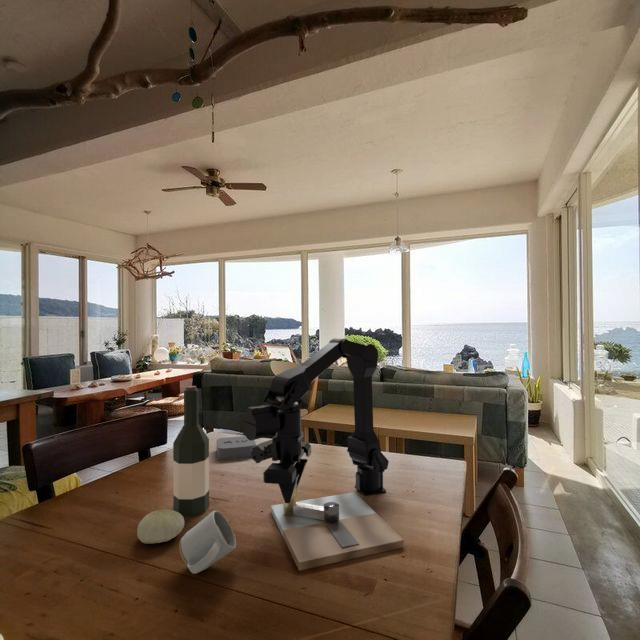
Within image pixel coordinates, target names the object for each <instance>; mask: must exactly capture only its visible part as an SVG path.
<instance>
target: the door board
mask: <svg viewBox="0 0 640 640" xmlns="http://www.w3.org/2000/svg"><path fill="white" fill-rule="evenodd" d="M297 502H300V503H306V504H312V505H318V506H324V504H325V503H327V502H336V503H338V504H339V521H337V522H335V523H328V522H326V521H324V520H321V519H315V518H310V517H304V516H298V515H286V514H284V513H283V503H281V504H280V503H279V504H273V505H270V512H271V514H272V515H271V516H272V517H273V519H274V521H275V523H276V525H277V528H278V530H279V531H280V534H281V535H282V538H283V540H284V542H285V545H286V546H287V548H288V550H289V552H290V555H291V557H292V559H293V561H294V563H295V565H296V567H297V569H298V571H304V570H309V569H313V568H317V567H322V566H326V565H331V564H334V563H339V562H345V561H348V560H354V559H357V558H362V557H366V556H371V555H375V554H380V553H385V552H388V551H393V550H394V551H395V550H398V549H402V548H404V546H405V544H404V543H405V541H404V539H403V537H401V535H400V534H398V532H396V531H395V530H394V529H393V528H392V527H391V526H390V525H389V524H388V523H387V522H386V521H385V520H384V519H383V518H382V517H381V516H379V514H378V513H377V512H376V511H374V510H373V508H372V507H370V506H369V505H368V503H366V502H365V501H364V500H363V499H362V498H361V497H360V496H359V495H358V494H357V493H356V492H355V491H354V492H353V491H352V492H347V493H341V494H334V495H330V496H322V497H317V498H311V499H304V500H297Z"/></svg>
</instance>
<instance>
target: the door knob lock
mask: <svg viewBox="0 0 640 640" xmlns="http://www.w3.org/2000/svg"><path fill="white" fill-rule="evenodd" d="M282 499H283V498H282ZM297 501H298V487H297V482H296V486H295V489H294V492H293V495H292V498H291V501H290V503H285V502H284V499H283V501H282V504H283V513H284V514H286V515H298V516H304V517H310V518H315V519H321V520H324V521H326V522H328V523H335V522H337V521H339V504H338V503H336V502H327V503H325V504H324V506H318V505H312V504H306V503H300V502H297Z"/></svg>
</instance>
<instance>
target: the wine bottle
mask: <svg viewBox="0 0 640 640" xmlns="http://www.w3.org/2000/svg"><path fill="white" fill-rule="evenodd" d="M199 403H200V402H199V389H198V388H197V386H196V385H190V386H189V385H188V386H185V389H184V390H183V426H182V427H181V429H180V430H179V432H178V434H177V436H176V437H175V439H174V441H173V442H172V444H173V445H172V446H173V447H172V451H173V452H172V453H173V454H172V457H173V458H172V459H173V460H172V463H173V464H172V469H173V470H172V473H173V474H172V476H173V480H172V481H173V488H172V489H173V490H172V494H173V495H172V496H173V503H172V504H173V508H172V510H174V511H176V512H178V513H180V514H181V515H182V516H183V518H188V517H189V518H192V517H193V518H194V517H195V516H198V515H202V514H203V513H206V512H207V510H208V509H209V507H210V438H209V437H208V436H207V434H206V433H205V431H204V429H203V428H202V426H201V425H200V423H199V413H200V412H199V407H200V406H199Z"/></svg>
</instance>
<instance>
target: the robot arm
mask: <svg viewBox="0 0 640 640" xmlns="http://www.w3.org/2000/svg"><path fill="white" fill-rule="evenodd" d="M341 358H344V359H346V365H347V366H346V367H347V369H348V370H349V372H350V373H351V375H352V378H353V379H352V380H353V381H352V382H353V409H354V411H353V415H354V430H353V433H352V434H351V436H347V438H346V439H347V440H346V442H347V450H346V452H347V453H348V455H349V457H350V459H351V461H352V464H353V465H354V466H357V467H356V470H357V471H356V472H355V484H354V487H355V489H357V490H358V491H359V492H360V493H361V494H362V495H363V496H371V495H377V494H383V493H386V492H387V489H385V488H384V472H385V471H386V470H388V468H389V461H390V460H389V459H388V458H387V457H386V456H385V455H384V454H383V452H382V451H381V449H382V448H381V443H380V439H379V437H378V436H377V434H376V432H375V431H374V430H375V429H374V414H373V413H374V408H373V407H374V405H373V404H374V403H373V376H374V374H375V371H376V370H377V368H378V360H379V351H378V348H377V347H376V346H375V345H374V344H373V343H359V342H355V341H351V340H349V339H347V338H336V337H335V338H332V339H330V340H329V342H328V343H327V344H326V345H324V346H323V347H322V348H321V349H319V350H318V351H317V352H315V353H314V354H313V355H311V356H310V357H309V358H307V359H306V360H305V361H303V362H302V363H301V364H300V365H297V366H296V367H292V368H290V369H287V370H286V369H285V370H284V371H283V372H281V373H278V374H276V375H274V377H273V378H272V379H271V380H270V382H271V385H270V387H269V389H268V391H267V392H266V395H265V396H264V398H263V400H262V401H261V405H257V406H249V407H247V409H246V410H247V411H246V413H245V415H244V416H243V421H242V430H243V433H244V436H246V437H247V439H248V440H254V441H255V440H259V439H262V438H267V437H270V436H273V437H272V439H269V440H266V441H263V442H260V443H258V444H256V445H255V446H254V447H253V448H252V450H251V457H250V459H251V460H252V461H253V462H255V464H260V463H261V462H264V461H266V460H269V459H271V461H273V462H272V463H271V464H270V465H268V467H267V468H266V469H265V470H264V471H263V475H262V476H263V477H262V478H263V483H265V484H276V485H278V487H279V490H280V492H281V495H282V497H283V498H282V499H284V502H285V503H290V501H291V498H292V495H293V492H294V489H295V486H296V482H297V488H299V484H300V481H301V479H302V476H303V475H304V472H305V468H306V466H307V463H308V459H306V458H309V457H310V456H311V455H312V445H311V444H310V443H309V442H308V441H302V439H303V438H304V435H305V434H304V431H302V416H301V415H302V410H304V409H308V408H309V407H310V406H309V404H307V403H306V402H305V401H304V400H303V397H304V396H305V395H306V394H307V393H308V391H310V388H311V385H312V383H313V381H314V380H316V379H317V378H318V377H319V376H320V375H322V374H323V373H324V372H325V371H326V370H327V369H328V368H330V367H331V366H333V364H335V363H336V362H337V361H338V360H340V359H341ZM304 454H305V456H306V458H303V455H304ZM278 461H279V462H278Z"/></svg>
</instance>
